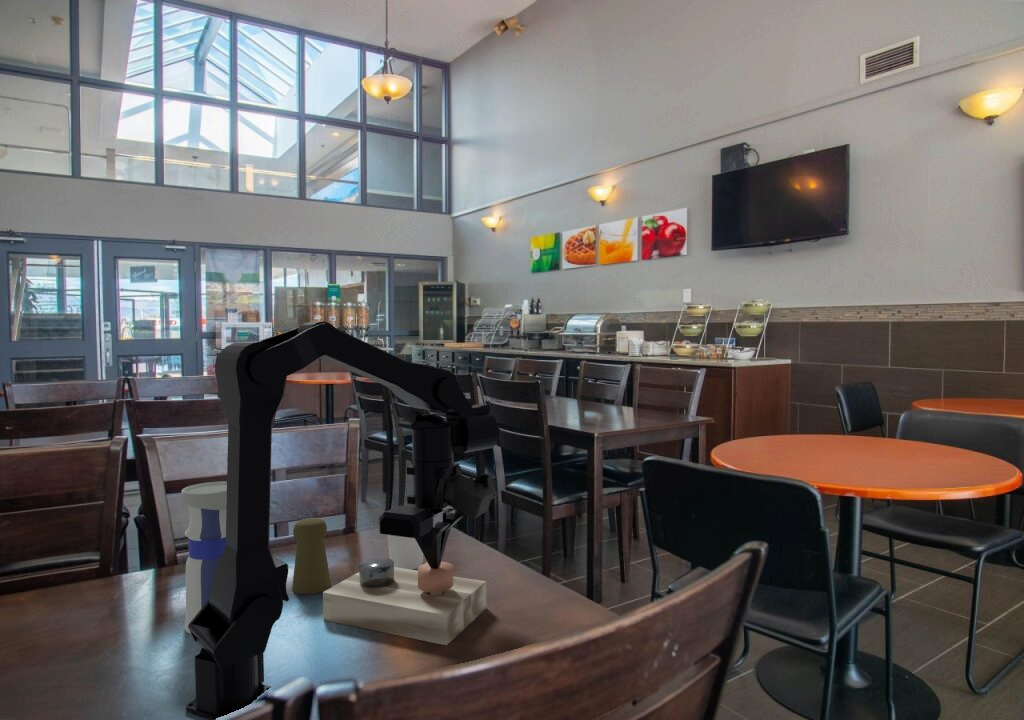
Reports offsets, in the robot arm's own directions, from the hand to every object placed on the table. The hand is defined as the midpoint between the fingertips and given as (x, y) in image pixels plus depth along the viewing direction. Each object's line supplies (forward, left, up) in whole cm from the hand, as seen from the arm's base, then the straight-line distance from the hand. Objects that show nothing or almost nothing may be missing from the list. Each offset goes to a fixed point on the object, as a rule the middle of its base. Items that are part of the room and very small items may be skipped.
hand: (435, 567), depth 88 cm
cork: (+3, +25, -8) cm, 26 cm away
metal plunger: (0, +10, -7) cm, 12 cm away
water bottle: (-12, +29, -8) cm, 32 cm away
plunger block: (0, +5, -7) cm, 9 cm away
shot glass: (+17, +16, -8) cm, 25 cm away
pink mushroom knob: (0, 0, -6) cm, 6 cm away
